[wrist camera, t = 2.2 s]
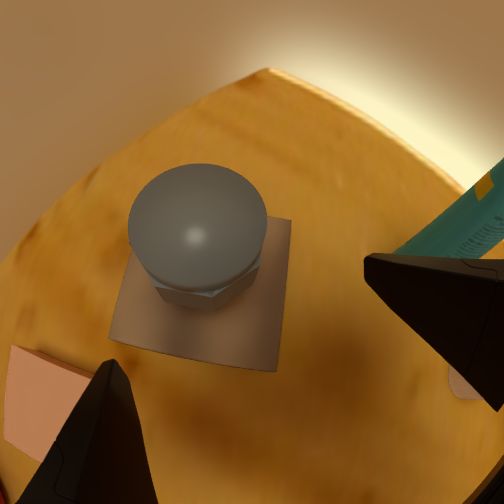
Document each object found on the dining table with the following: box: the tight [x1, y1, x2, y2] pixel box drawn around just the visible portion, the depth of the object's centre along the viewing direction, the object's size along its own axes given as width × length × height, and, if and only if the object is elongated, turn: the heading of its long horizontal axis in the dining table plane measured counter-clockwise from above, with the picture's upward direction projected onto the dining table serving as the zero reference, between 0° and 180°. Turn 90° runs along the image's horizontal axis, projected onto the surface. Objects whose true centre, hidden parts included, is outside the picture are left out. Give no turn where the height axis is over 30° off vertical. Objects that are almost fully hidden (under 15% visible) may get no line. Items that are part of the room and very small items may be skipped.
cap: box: [128, 164, 267, 312], centre depth 15 cm, size 7×7×4 cm
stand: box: [4, 344, 95, 463], centre depth 14 cm, size 8×8×4 cm
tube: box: [392, 158, 504, 259], centre depth 14 cm, size 7×5×19 cm, turn 103°
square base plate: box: [108, 216, 291, 372], centre depth 18 cm, size 12×12×8 cm
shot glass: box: [448, 365, 484, 400], centre depth 17 cm, size 7×7×7 cm
